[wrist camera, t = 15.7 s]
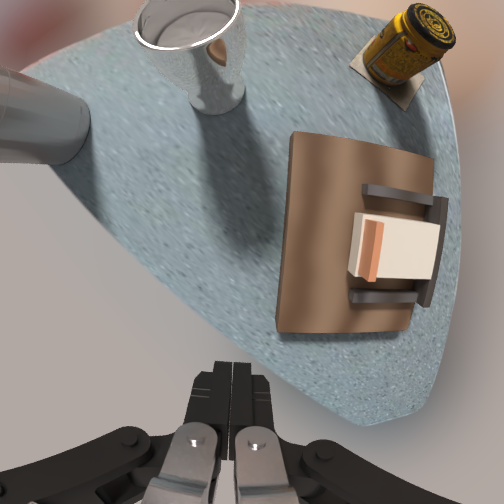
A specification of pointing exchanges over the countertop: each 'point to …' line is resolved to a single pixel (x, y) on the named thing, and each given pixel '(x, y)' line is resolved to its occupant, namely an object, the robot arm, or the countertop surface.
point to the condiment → (405, 52)
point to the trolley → (392, 247)
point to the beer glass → (196, 48)
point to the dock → (349, 234)
